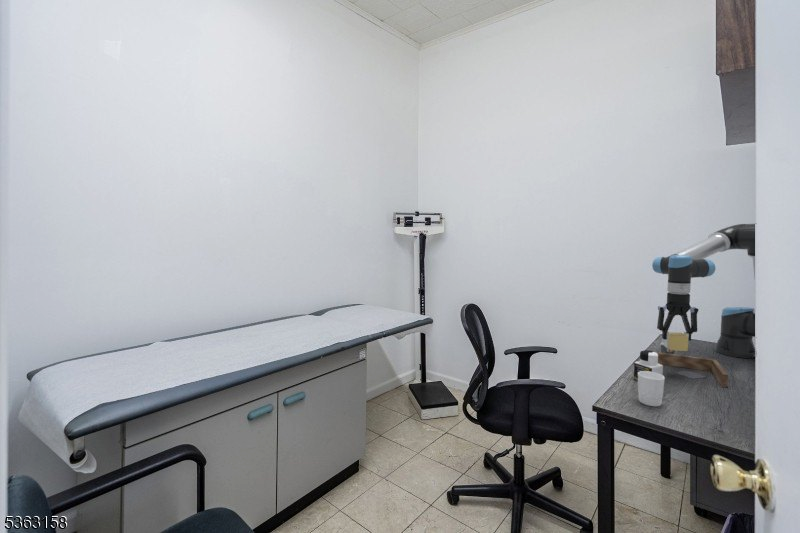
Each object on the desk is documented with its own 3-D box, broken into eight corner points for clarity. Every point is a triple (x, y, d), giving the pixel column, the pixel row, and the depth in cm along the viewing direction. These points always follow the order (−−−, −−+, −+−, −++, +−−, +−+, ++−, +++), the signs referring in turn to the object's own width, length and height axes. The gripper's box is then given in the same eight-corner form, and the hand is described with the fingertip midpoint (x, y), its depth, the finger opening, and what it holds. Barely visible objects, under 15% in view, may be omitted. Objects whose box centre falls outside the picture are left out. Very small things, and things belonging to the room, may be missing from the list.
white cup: (654, 409, 124) (655, 381, 124) (631, 399, 132) (632, 373, 131) (668, 404, 128) (669, 377, 127) (645, 395, 135) (646, 369, 134)
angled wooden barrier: (714, 370, 158) (715, 359, 158) (727, 387, 141) (728, 375, 141) (653, 362, 169) (653, 351, 169) (658, 377, 152) (658, 365, 152)
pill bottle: (676, 361, 171) (678, 340, 170) (663, 360, 172) (664, 339, 171) (670, 357, 176) (671, 337, 175) (657, 356, 177) (658, 336, 176)
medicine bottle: (633, 378, 151) (634, 350, 150) (644, 375, 154) (646, 348, 152) (651, 385, 144) (652, 355, 143) (662, 382, 147) (664, 353, 146)
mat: (703, 373, 156) (703, 372, 156) (708, 381, 147) (708, 381, 147) (673, 369, 161) (673, 368, 161) (677, 376, 152) (677, 376, 152)
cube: (680, 346, 154) (681, 332, 153) (687, 351, 148) (688, 336, 148) (664, 345, 156) (665, 331, 155) (670, 350, 150) (670, 335, 149)
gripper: (655, 293, 149) (652, 348, 151) (711, 294, 144) (707, 352, 146) (648, 290, 156) (646, 343, 158) (701, 291, 151) (698, 346, 153)
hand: (675, 347), depth 152 cm, fingers closed on cube, 6 cm apart
